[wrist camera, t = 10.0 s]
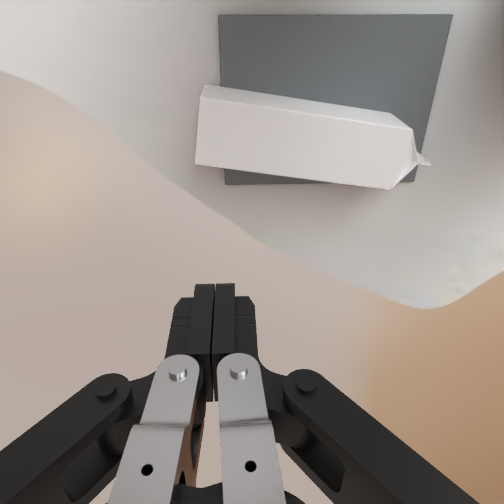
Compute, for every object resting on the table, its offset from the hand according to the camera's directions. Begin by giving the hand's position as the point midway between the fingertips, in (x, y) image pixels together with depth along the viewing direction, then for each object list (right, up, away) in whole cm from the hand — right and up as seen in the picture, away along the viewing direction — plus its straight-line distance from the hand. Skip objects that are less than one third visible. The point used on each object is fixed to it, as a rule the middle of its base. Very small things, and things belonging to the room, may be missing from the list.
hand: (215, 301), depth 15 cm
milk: (-4, +14, +22) cm, 26 cm away
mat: (+9, +17, +25) cm, 31 cm away
